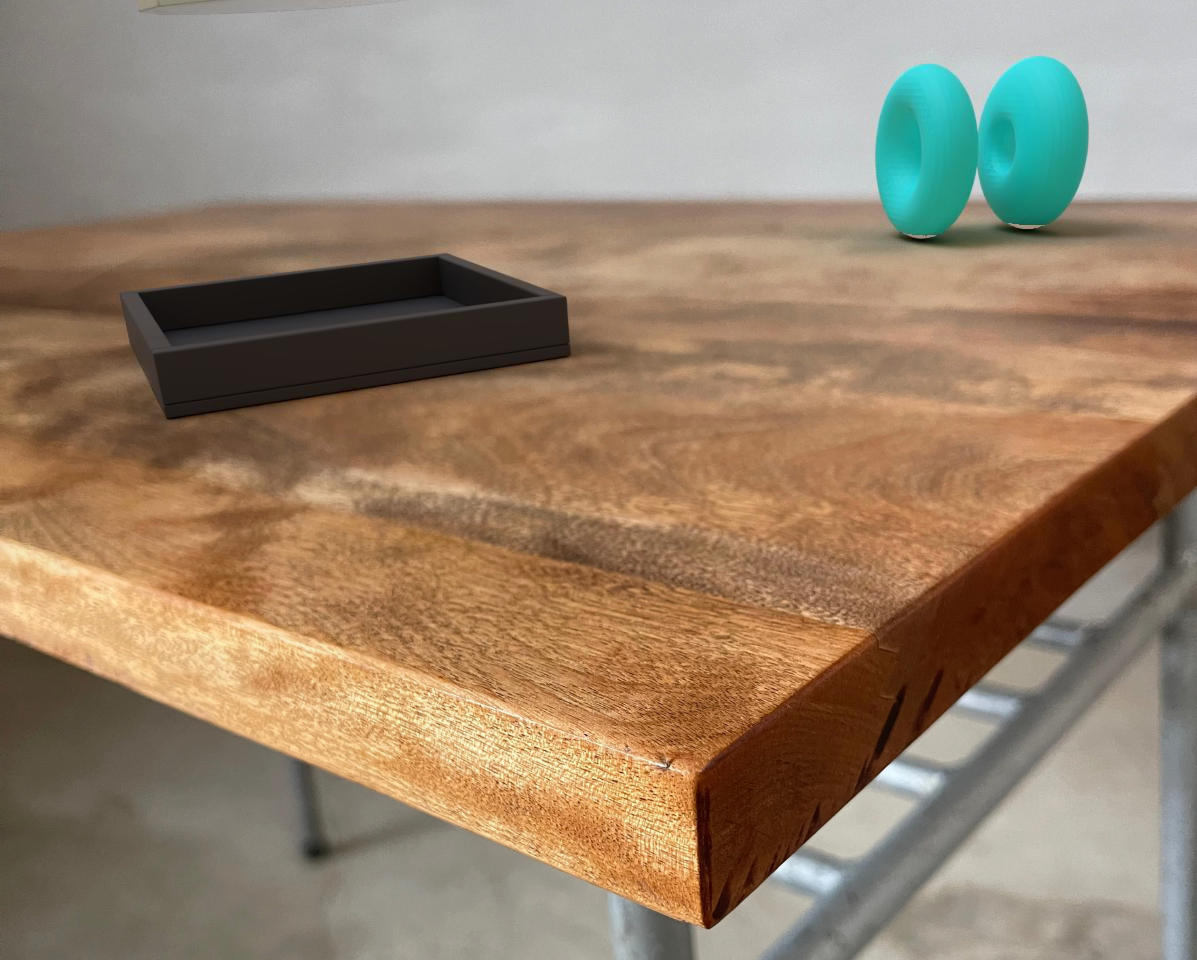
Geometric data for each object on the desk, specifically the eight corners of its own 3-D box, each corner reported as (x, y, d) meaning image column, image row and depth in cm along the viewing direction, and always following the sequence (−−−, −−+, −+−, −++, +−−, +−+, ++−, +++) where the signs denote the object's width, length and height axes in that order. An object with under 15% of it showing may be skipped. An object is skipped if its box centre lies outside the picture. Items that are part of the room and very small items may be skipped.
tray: (129, 343, 61) (118, 292, 60) (452, 300, 66) (447, 252, 65) (166, 419, 47) (152, 353, 46) (571, 355, 52) (567, 296, 51)
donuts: (865, 231, 81) (870, 65, 77) (1008, 219, 82) (1020, 55, 78) (930, 251, 72) (939, 64, 68) (1089, 236, 73) (1107, 53, 69)
